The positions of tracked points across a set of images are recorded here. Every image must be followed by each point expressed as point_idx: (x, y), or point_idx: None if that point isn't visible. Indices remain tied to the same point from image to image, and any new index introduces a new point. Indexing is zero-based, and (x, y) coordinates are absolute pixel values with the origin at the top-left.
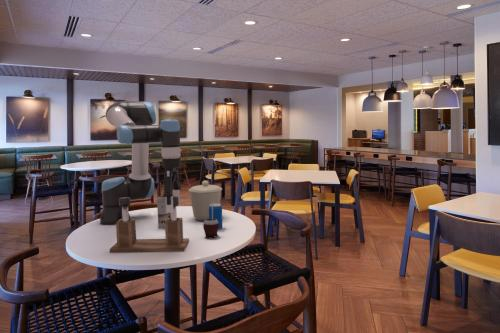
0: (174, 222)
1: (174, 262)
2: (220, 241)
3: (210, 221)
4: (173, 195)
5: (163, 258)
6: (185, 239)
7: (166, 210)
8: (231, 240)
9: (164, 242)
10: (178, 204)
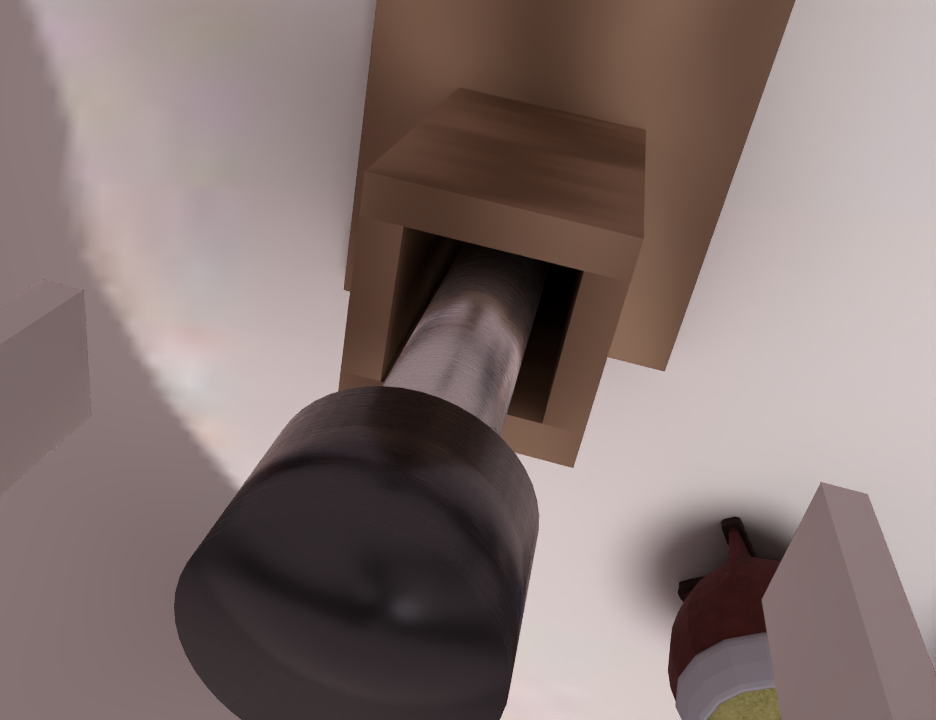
0: (350, 323)
1: (72, 165)
2: (566, 606)
3: (698, 713)
4: (875, 711)
5: (175, 54)
6: (632, 329)
7: (11, 308)
8: (565, 681)
9: (592, 65)
10: (774, 591)
